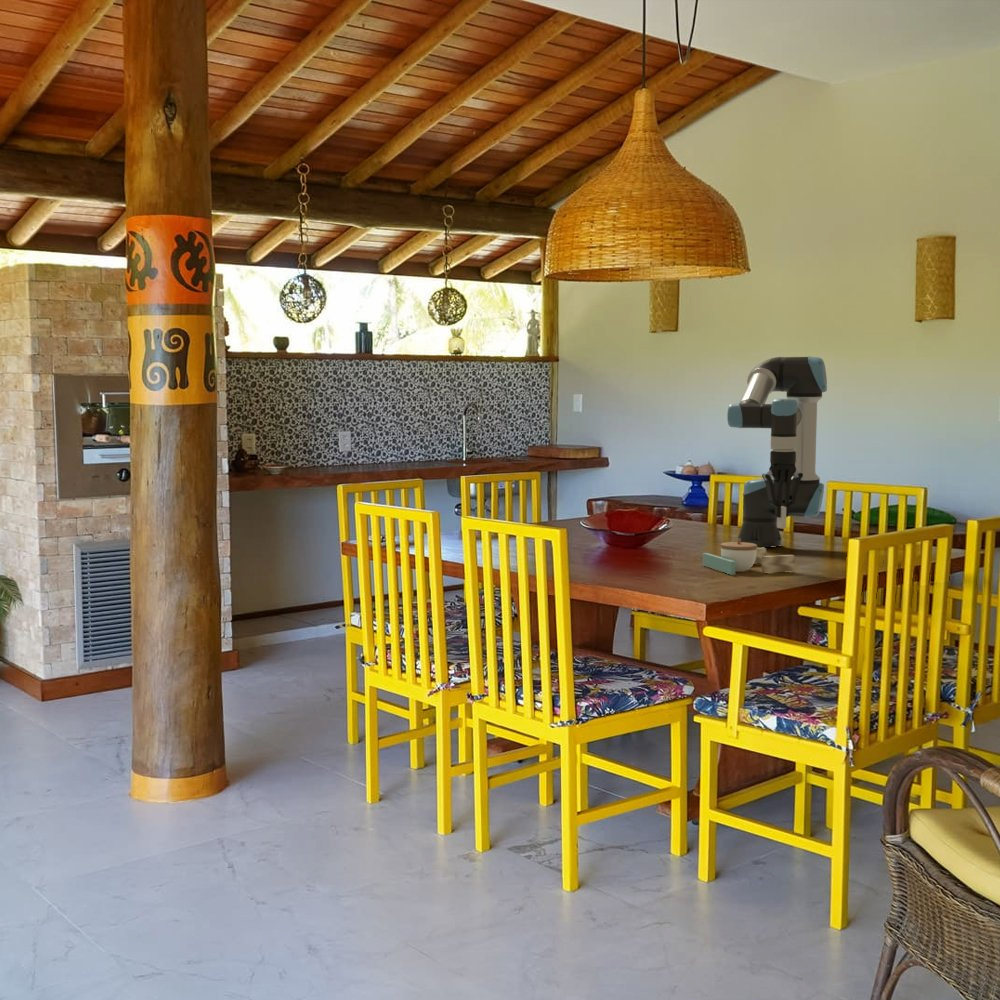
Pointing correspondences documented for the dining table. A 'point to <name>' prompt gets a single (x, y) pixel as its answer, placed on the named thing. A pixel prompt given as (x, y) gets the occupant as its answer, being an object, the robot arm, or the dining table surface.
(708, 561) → the bar
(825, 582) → the dining table surface
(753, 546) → the lidded jar
